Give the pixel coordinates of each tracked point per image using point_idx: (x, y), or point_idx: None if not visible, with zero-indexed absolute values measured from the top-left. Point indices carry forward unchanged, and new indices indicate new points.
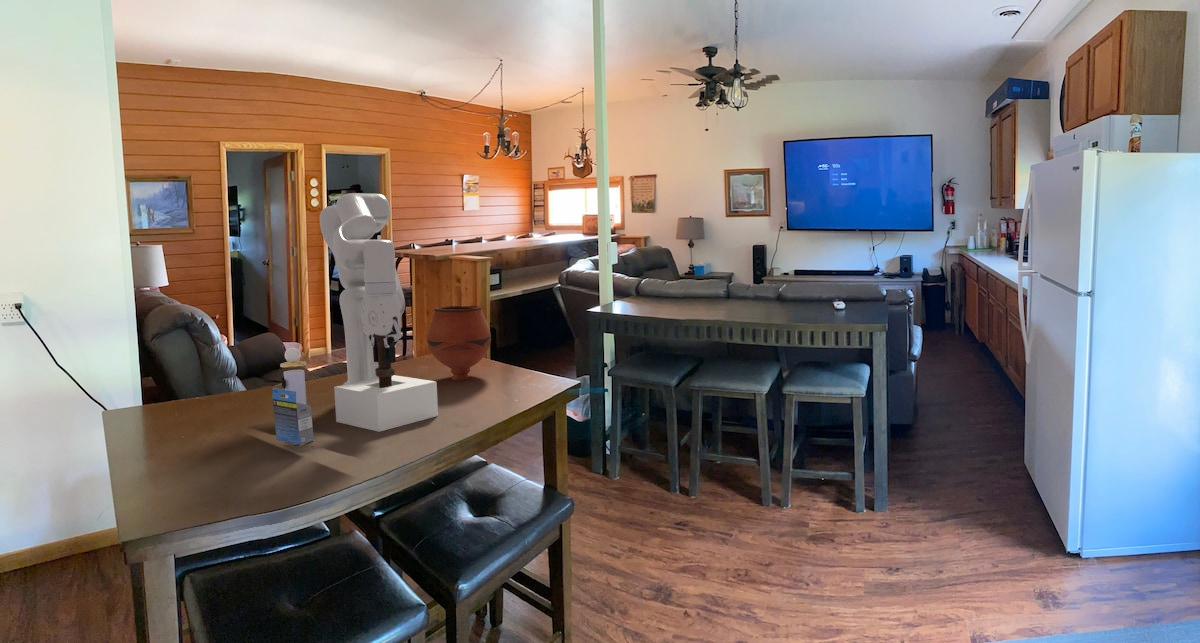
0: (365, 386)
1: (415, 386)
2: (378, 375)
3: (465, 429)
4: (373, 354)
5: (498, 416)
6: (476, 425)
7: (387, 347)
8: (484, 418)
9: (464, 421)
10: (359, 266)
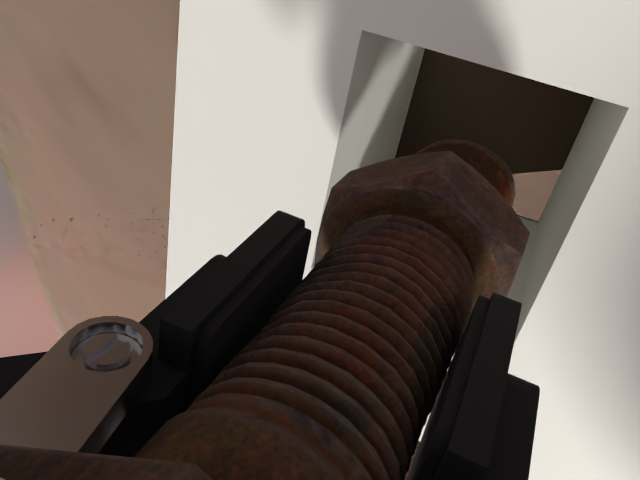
0: (586, 55)
1: (174, 172)
2: (431, 153)
3: (18, 37)
4: (502, 363)
5: (64, 255)
6: (31, 111)
7: (107, 321)
8: (82, 219)
9: (109, 159)
10: None
